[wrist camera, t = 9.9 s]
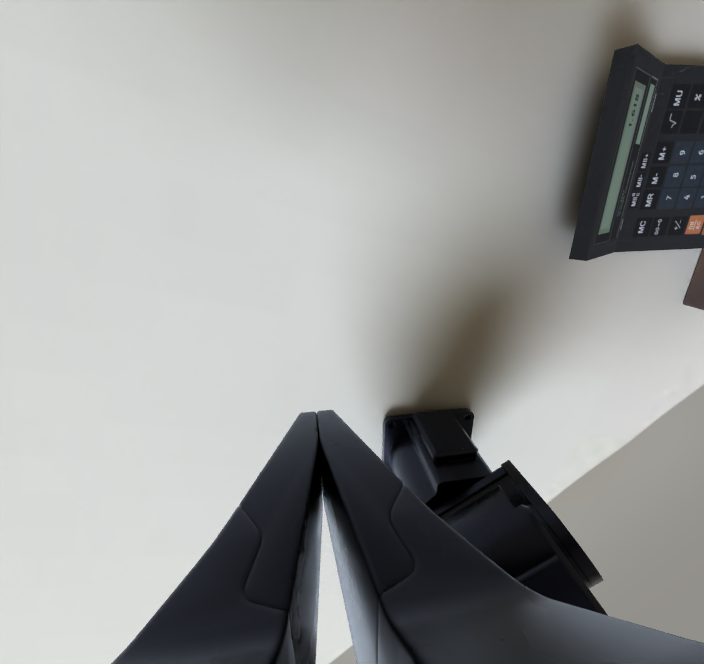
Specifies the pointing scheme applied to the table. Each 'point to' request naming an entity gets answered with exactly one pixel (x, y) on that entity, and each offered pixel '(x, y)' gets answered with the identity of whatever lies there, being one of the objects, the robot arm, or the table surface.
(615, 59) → the calculator
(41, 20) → the table surface
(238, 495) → the table surface
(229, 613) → the robot arm
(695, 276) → the rail
